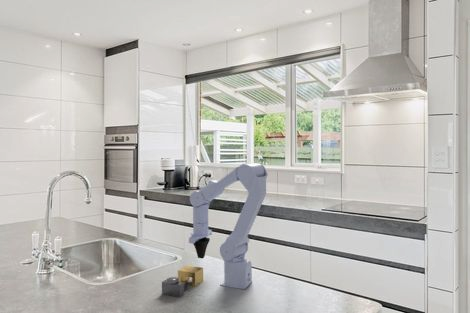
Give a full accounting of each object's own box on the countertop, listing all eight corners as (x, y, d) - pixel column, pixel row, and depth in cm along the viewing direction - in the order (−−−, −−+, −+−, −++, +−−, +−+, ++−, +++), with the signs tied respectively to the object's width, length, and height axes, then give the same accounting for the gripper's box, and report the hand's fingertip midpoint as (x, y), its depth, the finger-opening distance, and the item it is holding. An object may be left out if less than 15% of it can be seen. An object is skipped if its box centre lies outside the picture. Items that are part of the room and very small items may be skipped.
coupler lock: (203, 280, 134) (203, 267, 133) (195, 286, 128) (195, 273, 128) (186, 278, 136) (186, 265, 136) (178, 283, 131) (177, 270, 131)
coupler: (193, 287, 127) (192, 273, 127) (178, 298, 118) (178, 282, 118) (175, 285, 129) (175, 271, 129) (160, 294, 121) (160, 279, 121)
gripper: (200, 217, 147) (200, 251, 148) (181, 225, 134) (181, 261, 134) (216, 219, 144) (216, 253, 145) (198, 226, 131) (198, 264, 132)
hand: (201, 257), depth 139 cm, fingers closed
